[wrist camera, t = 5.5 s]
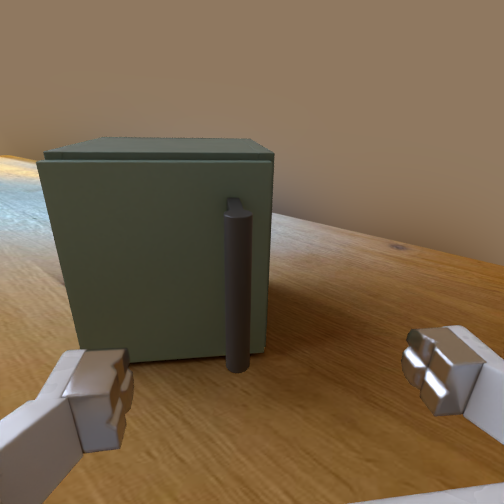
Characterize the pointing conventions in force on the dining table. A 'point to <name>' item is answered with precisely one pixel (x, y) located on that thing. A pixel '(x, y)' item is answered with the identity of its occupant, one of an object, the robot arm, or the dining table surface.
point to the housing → (168, 156)
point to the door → (164, 254)
